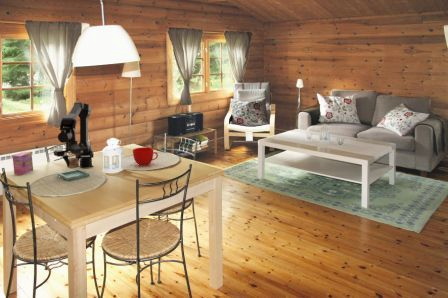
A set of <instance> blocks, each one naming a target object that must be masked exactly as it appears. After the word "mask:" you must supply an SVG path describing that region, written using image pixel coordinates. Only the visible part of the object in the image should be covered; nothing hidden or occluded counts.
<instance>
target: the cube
mask: <svg viewBox="0 0 448 298" xmlns="http://www.w3.org/2000/svg"><path fill="white" fill-rule="evenodd" d="M68 160H69V166H67V165H66V167H67V168H68V169H71V170H72V169H77V168H80V162H79V160H80V159H79V160H78V158H76V157H68Z"/></svg>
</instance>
